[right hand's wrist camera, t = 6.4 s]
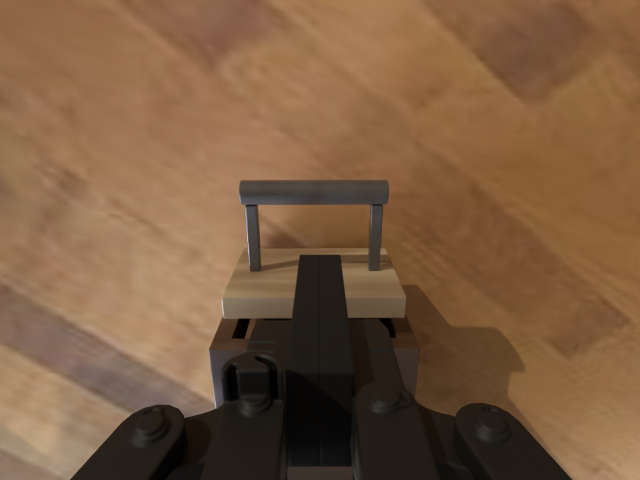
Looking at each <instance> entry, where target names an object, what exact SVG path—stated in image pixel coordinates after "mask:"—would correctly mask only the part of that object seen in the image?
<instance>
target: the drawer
mask: <svg viewBox="0 0 640 480" xmlns="http://www.w3.org/2000/svg"><path fill="white" fill-rule="evenodd" d="M388 197H389V185H388V181H387V180H242V181H240V185H239V198H240V202H241V204H242V205H246V206H245V211H246V226H247V240H248V248H245V249H244V250H243V252H242V254H241V257H240V259H239V261H238V263H237V265H236V268H235V270H234V272H233V274H232V276H231V279H230V281H229V283H228V285H227V287H226V290H225V292H224V294H223V296H222V307H223V317H224V319H250V322H249V325H248V329H247V332H246V336H245V339H250V336H251V332H252V330H253V329H254V328H255V327H256V326H257V325H258V324H259V323H260V322H261V321H262V320H292V312H293V304H294V296H295V288H296V280H297V272H298V264H299V256H300V255H340V256H341V264H342V272H343V280H344V288H345V296H346V304H347V312H348V319H379V318H405V310H406V298H407V297H406V295H405V292H404V290H403V288H402V286H401V283H400V281H399V279H398V276H397V274H396V272H395V269H394V267H393V265H392V263H391V260H390V258H389V256H388V253H387V251H386V249H385V248H381V233H382V215H383V205H382V204H387V202H388ZM355 204H370V224H369V245H368V248H260V232H259V215H258V205H355Z"/></svg>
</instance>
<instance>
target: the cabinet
mask: <svg viewBox="0 0 640 480" xmlns="http://www.w3.org/2000/svg"><path fill="white" fill-rule="evenodd" d="M379 320H380V321H381V322H382V323H383V324H384V325H385V326H386V327H387V328H388V331H389V334H390V338H391V342H392V345H393V348H394V352H395V355H396V359H397V362H398V366H399V369H400V373H401V376H402V379H403V383H404V386H405V388H406V389H407V390H408V391H409V392H411V393H412V395H413V397H414V398H415V388H416V379H417V369H418V360H419V350H420V349H419V346H418V344H417V341H416V339H415V337H414V334H413V332H412V329H411V326H410V324H409V321H408V319H407V316H406V314H405V318H379ZM249 322H250V319H224V317H222V320H221V322H220V325H219V327H218V329H217V332H216V334H215V337H214V339H213V341H212V344H211V346H210V348H209V356H210V365H211V373H212V381H213V390H214V398H215V407H216V408H218V407H220V406H221V405H223V403H224V401H223V391H222V382H221V373H220V371H221V369H222V367H223V366H224V364H225V363H226V362H228V361H229V360H230V359H232V358H233V357H235V356H238V355H240V354H243V353H246V350H247V346H248V344H249V339H245V336H246V332H247V329H248V325H249ZM287 476H288V480H352V476H353V470H352V466H351V467H289V466H288V472H287Z"/></svg>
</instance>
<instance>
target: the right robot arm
mask: <svg viewBox="0 0 640 480" xmlns="http://www.w3.org/2000/svg"><path fill="white" fill-rule="evenodd" d="M220 373H221V382H222V391H223V401H224V403H223V405H221V406H220V407H218V408H216V409H214V410H212V411H209V412H206V413H203V414H200V415H196V416H192V417H188V418H184V415H183V414H182V413H181V411H180V410H179V409H177V408H175V407H173V406H170V405H155V406H150V407H146V408H143V409H141V410H139V411H137V412H135V413H133V414H132V415H130V416H129V417H128V418H127V419H126V420H125V421H123V422H122V423H121V424H120V425H119V426H118V428H117V429H116V430H115V431H114V432H113V433H112V434H111V435H110V436H109V437H108V439H107V440H106V441H105V442H104V443H103V444H102V445H101V446H100V447H99V448H98V450H97V451H96V452H95V453H94V454H93V455H92V456H91V457H90V458H89V459H88V461H87V462H86V463H85V464H84V465H83V466H82V467H81V468H80V469H79V471H78V472H77V473H76V474H75V475H74V476H73V477H72V478H71V479H70V480H288V476H287V472H288V466H289V467H351V466H352V470H353V476H352V480H572V479H571V478H570V477H569V476H568V475H567V474H566V472H565V471H564V470H563V469H562V468H561V467H560V466H559V465H558V464H557V463H556V462H555V460H554V459H553V458H552V457H551V456H550V455H549V454H548V453H547V452H546V451H545V449H544V448H543V447H542V446H541V445H540V444H539V443H538V442H537V441H536V440H535V439H534V437H533V436H532V435H531V434H530V433H529V432H528V431H527V430H526V429H525V428H524V426H523V425H522V424H521V423H520V422H519V421H518V420H517V419H515V418H514V417H513V416H512V415H511V414H509V413H508V412H506V411H504V410H502V409H500V408H498V407H496V406H492V405H488V404H484V403H473V404H469V405H466V406H464V407H462V408H461V409H460V410H459V411H458V413H457V414H456V417H455V416H451V415H447V414H443V413H439V412H435V411H432V410H429V409H427V408H425V407H423V406H421V405H420V404H418V403H417V402H416V400H415V398H414V397H413V395H412V393H411V392H409V391H408V390H407V389H406V388H405V386H404V383H403V379H402V376H401V373H400V369H399V366H398V362H397V359H396V355H395V352H394V348H393V345H392V342H391V338H390V334H389V331H388V328H387V327H386V326H385V325H384V324H383V323H382V322H381V321H380V320H379V319H348V312H347V304H346V296H345V288H344V280H343V272H342V264H341V256H340V255H300V256H299V264H298V272H297V280H296V288H295V296H294V304H293V312H292V320H262V321H261V322H260V323H259V324H258V325H257V326H256V327H255V328H254V329H253V330H252V332H251V336H250V339H249V344H248V346H247V350H246V353H243V354H240V355H238V356H235V357H233V358H232V359H230V360H229V361H228V362H226V363H225V364H224V366H223V367H222V369H221V371H220Z"/></svg>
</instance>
